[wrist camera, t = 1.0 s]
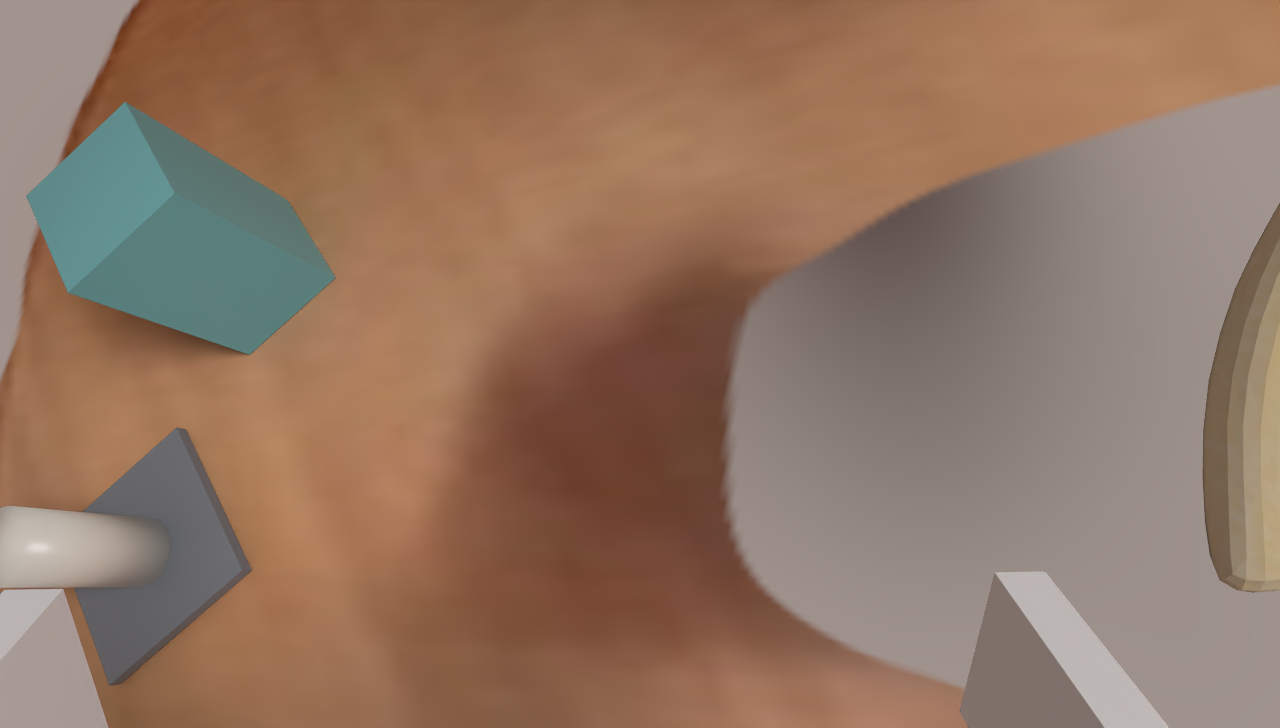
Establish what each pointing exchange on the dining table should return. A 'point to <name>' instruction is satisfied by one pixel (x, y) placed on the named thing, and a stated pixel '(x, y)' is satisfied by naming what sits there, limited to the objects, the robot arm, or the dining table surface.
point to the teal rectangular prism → (176, 235)
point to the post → (132, 554)
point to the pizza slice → (1246, 428)
